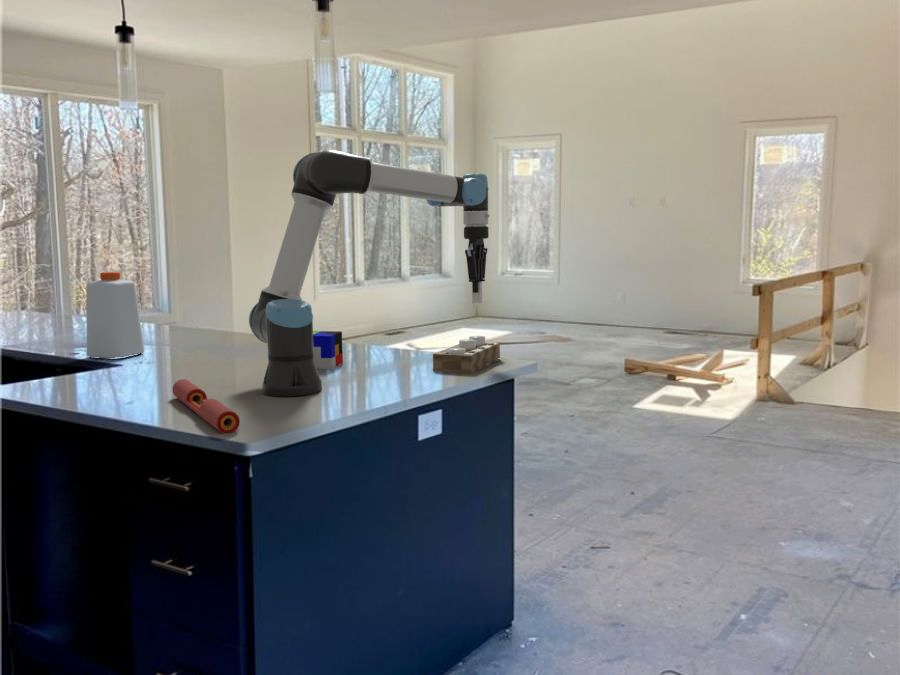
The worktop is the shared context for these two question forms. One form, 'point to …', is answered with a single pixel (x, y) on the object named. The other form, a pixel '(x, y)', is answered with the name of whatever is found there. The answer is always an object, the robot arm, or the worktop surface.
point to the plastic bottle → (112, 317)
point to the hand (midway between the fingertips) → (477, 302)
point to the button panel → (466, 359)
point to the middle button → (467, 344)
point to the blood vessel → (206, 407)
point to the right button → (478, 340)
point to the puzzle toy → (327, 349)
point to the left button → (457, 351)
